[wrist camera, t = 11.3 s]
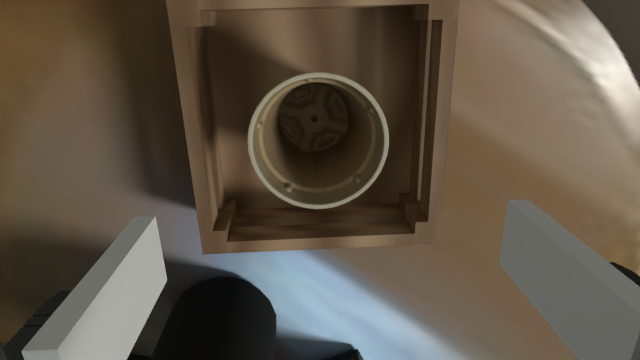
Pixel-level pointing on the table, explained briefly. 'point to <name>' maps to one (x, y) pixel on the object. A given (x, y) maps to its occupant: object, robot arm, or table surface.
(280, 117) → the flower pot
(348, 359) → the graphics card box
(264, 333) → the coffee jar
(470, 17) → the table surface
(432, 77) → the crate
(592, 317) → the robot arm
